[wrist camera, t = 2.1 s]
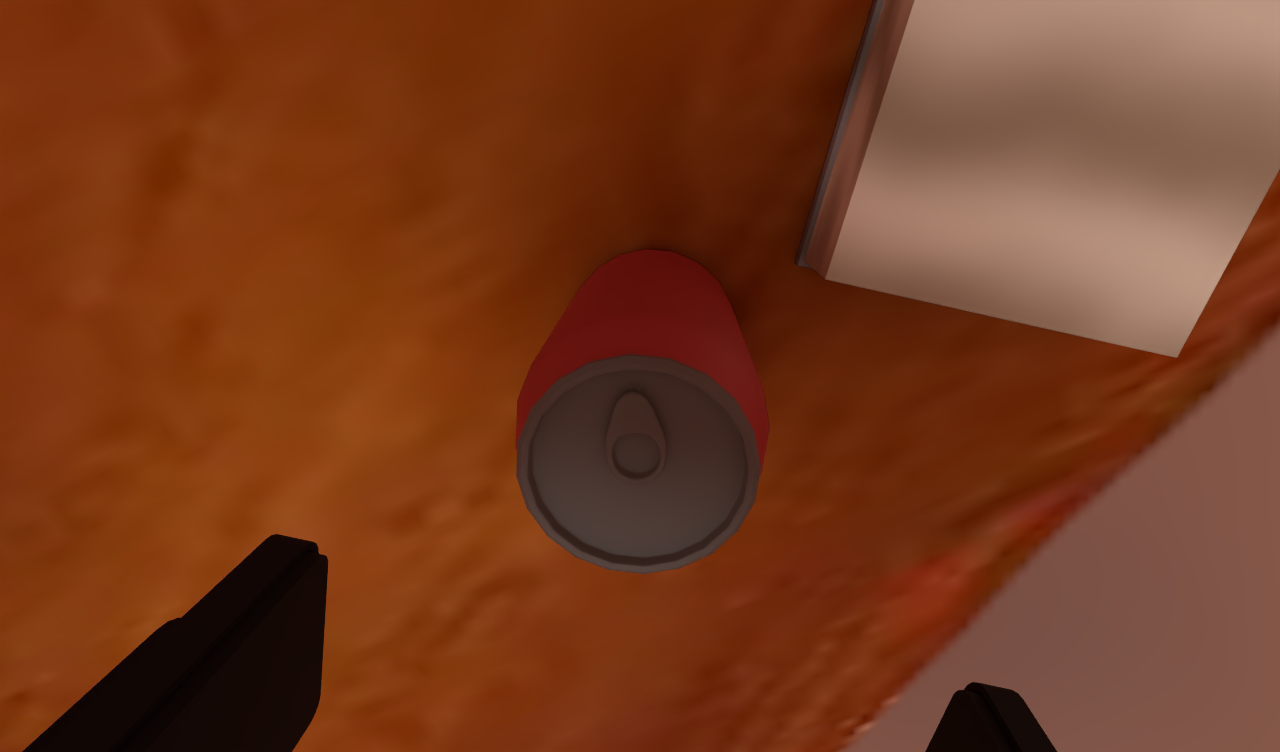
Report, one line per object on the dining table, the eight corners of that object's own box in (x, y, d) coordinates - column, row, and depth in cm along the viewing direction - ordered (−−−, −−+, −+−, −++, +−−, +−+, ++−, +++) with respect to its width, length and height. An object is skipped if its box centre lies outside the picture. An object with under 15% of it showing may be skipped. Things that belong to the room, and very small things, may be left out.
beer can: (732, 241, 24) (787, 326, 13) (734, 400, 26) (782, 591, 15) (562, 251, 25) (471, 341, 13) (578, 406, 27) (512, 596, 16)
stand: (909, -120, 20) (964, -182, 16) (1279, -30, 20) (1416, -69, 17) (794, 262, 24) (817, 283, 21) (1101, 331, 25) (1179, 364, 21)
